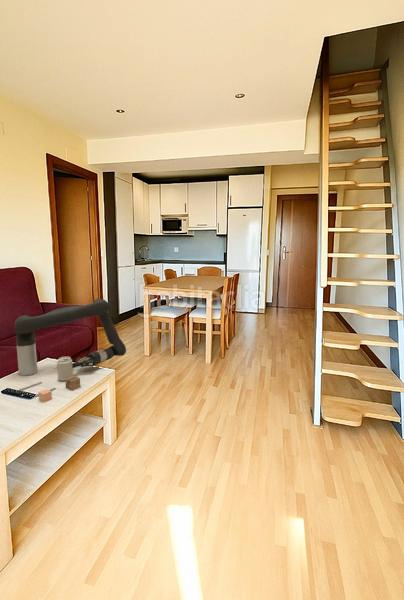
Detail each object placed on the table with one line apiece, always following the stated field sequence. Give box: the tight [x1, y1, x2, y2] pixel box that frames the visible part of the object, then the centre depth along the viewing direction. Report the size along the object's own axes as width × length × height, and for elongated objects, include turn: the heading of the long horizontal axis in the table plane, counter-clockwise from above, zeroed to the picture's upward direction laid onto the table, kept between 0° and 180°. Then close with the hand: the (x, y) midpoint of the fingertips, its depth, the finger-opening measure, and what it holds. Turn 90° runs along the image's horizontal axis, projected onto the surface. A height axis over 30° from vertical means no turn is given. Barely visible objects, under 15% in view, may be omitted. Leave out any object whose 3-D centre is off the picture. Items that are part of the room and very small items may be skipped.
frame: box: [18, 381, 57, 399], centre depth 152 cm, size 14×12×1 cm
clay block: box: [37, 388, 53, 403], centre depth 142 cm, size 4×4×4 cm
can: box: [56, 356, 74, 382], centre depth 164 cm, size 8×8×12 cm
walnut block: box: [64, 375, 81, 391], centre depth 155 cm, size 5×5×5 cm
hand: (71, 366), depth 167 cm, fingers closed
